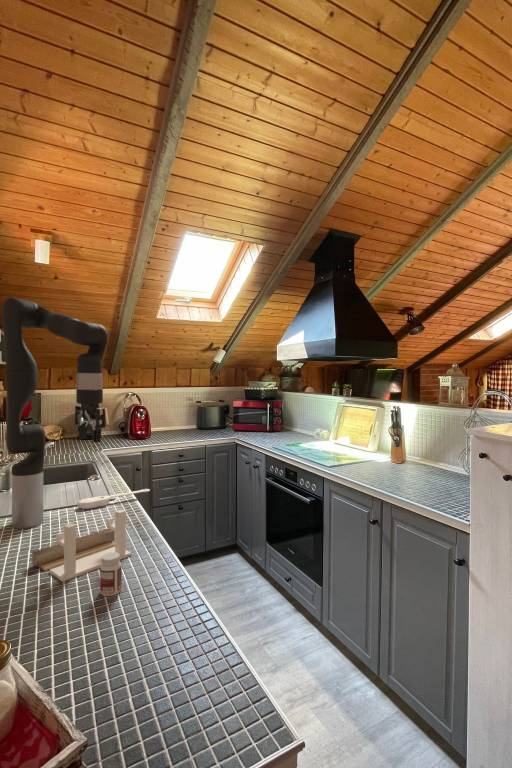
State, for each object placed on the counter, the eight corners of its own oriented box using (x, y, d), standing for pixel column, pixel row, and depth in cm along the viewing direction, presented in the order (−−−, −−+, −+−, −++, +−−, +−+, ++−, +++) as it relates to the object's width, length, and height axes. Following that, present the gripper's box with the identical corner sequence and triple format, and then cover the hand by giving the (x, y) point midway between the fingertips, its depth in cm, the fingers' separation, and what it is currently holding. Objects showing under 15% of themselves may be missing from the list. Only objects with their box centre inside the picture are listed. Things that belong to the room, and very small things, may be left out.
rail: (32, 563, 105) (32, 552, 105) (109, 537, 122) (109, 528, 122) (36, 567, 103) (36, 555, 103) (114, 540, 120) (114, 530, 120)
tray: (33, 562, 107) (33, 560, 107) (103, 539, 123) (103, 537, 123) (44, 570, 103) (44, 568, 103) (115, 545, 118) (115, 543, 118)
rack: (49, 572, 102) (49, 522, 102) (117, 548, 117) (117, 504, 116) (62, 581, 97) (62, 529, 97) (131, 555, 112) (131, 510, 112)
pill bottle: (114, 583, 97) (114, 549, 97) (125, 590, 94) (125, 555, 94) (95, 591, 93) (96, 556, 93) (106, 599, 90) (107, 562, 90)
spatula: (146, 494, 168) (146, 487, 168) (152, 497, 164) (152, 490, 164) (75, 507, 151) (75, 499, 151) (79, 511, 147) (79, 503, 147)
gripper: (66, 387, 125) (66, 439, 125) (89, 389, 115) (89, 445, 116) (89, 387, 130) (89, 436, 131) (113, 388, 121) (113, 441, 122)
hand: (89, 440), depth 123 cm, fingers open, 8 cm apart
